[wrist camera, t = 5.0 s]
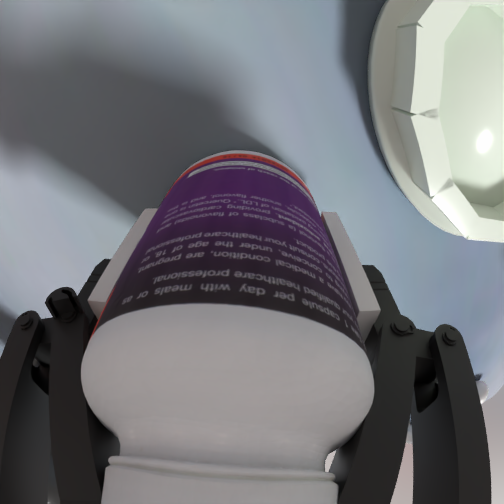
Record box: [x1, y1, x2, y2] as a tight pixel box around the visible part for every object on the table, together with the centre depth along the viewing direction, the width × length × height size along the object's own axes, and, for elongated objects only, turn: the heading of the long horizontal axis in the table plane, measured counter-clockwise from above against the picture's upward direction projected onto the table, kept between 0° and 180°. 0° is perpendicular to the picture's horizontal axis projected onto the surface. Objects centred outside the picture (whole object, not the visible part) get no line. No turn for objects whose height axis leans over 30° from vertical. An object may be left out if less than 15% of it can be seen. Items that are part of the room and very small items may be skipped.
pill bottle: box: [81, 150, 374, 504], centre depth 10 cm, size 8×8×14 cm
